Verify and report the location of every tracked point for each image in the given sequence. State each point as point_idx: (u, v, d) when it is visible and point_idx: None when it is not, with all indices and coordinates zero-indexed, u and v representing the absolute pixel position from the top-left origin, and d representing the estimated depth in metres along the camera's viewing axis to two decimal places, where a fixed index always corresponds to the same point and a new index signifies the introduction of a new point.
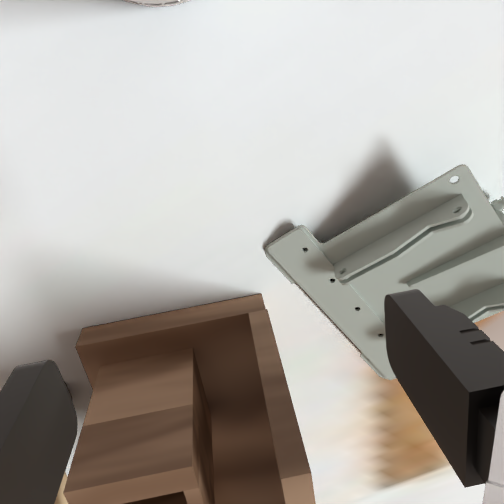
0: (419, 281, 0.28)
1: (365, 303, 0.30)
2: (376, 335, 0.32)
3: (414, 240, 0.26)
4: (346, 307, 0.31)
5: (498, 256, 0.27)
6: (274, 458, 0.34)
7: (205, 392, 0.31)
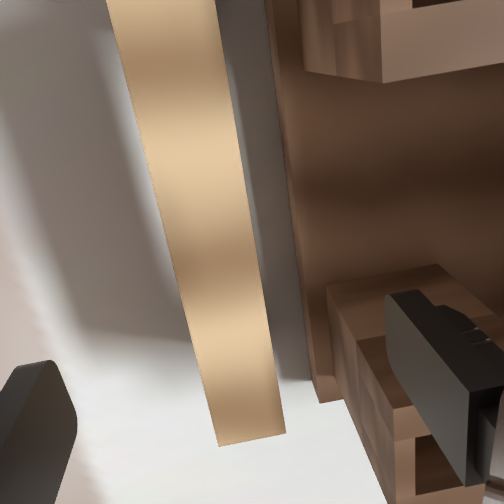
0: None
1: None
2: None
3: None
4: None
5: None
6: None
7: None
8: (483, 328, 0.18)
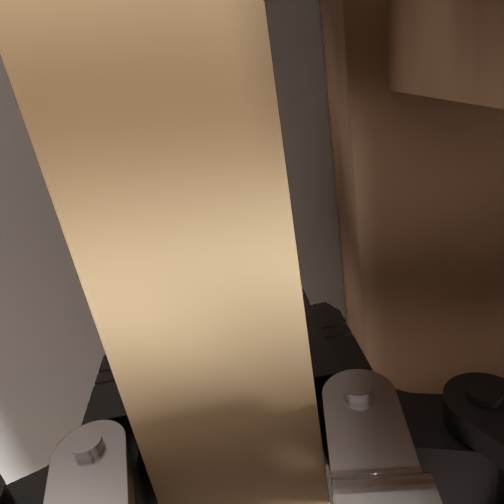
0: None
1: None
2: None
3: None
4: None
5: None
6: None
7: None
8: None
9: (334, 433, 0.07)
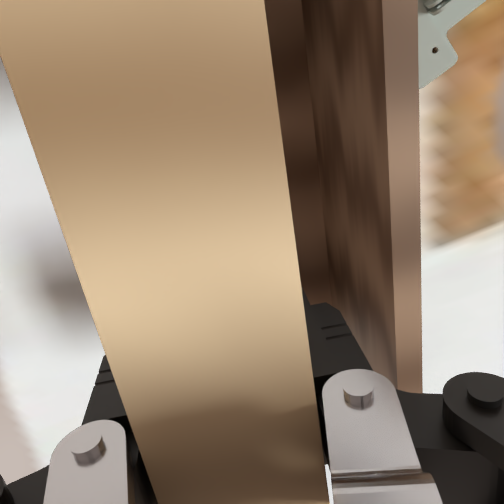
0: None
1: None
2: None
3: None
4: None
5: None
6: (316, 158, 0.29)
7: None
8: None
9: (334, 433, 0.07)
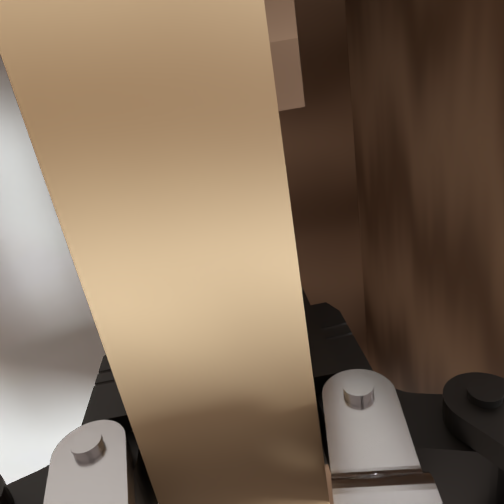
0: None
1: None
2: None
3: None
4: None
5: None
6: (355, 191, 0.21)
7: None
8: None
9: (334, 433, 0.07)
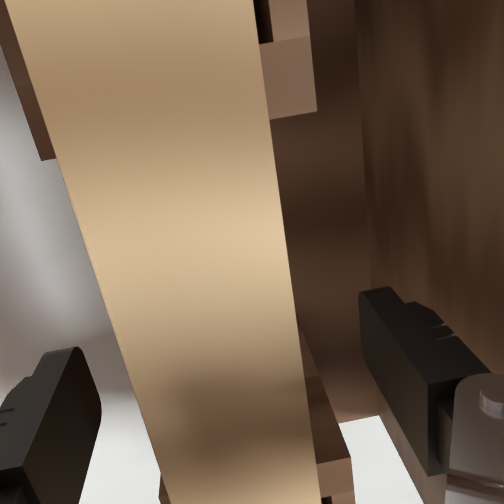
0: None
1: None
2: None
3: None
4: None
5: None
6: (363, 198, 0.20)
7: None
8: None
9: (461, 433, 0.06)
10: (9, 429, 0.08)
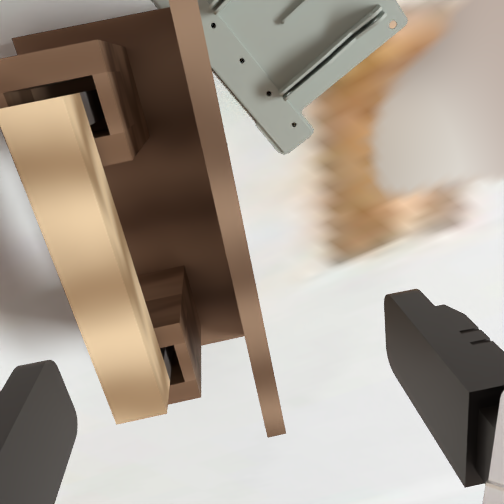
0: (289, 14, 0.30)
1: (248, 52, 0.32)
2: (265, 94, 0.34)
3: None
4: (231, 59, 0.33)
5: None
6: None
7: (141, 104, 0.32)
8: (168, 301, 0.31)
9: None
10: None
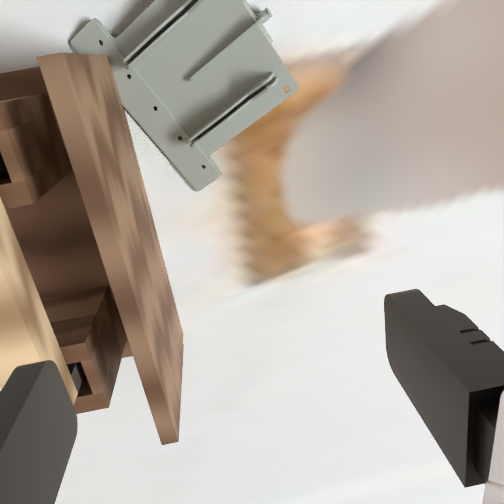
0: (195, 73, 0.34)
1: (160, 102, 0.36)
2: (176, 138, 0.37)
3: (175, 22, 0.32)
4: (146, 107, 0.36)
5: (254, 48, 0.33)
6: None
7: (62, 143, 0.35)
8: (81, 321, 0.35)
9: None
10: None
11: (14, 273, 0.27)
